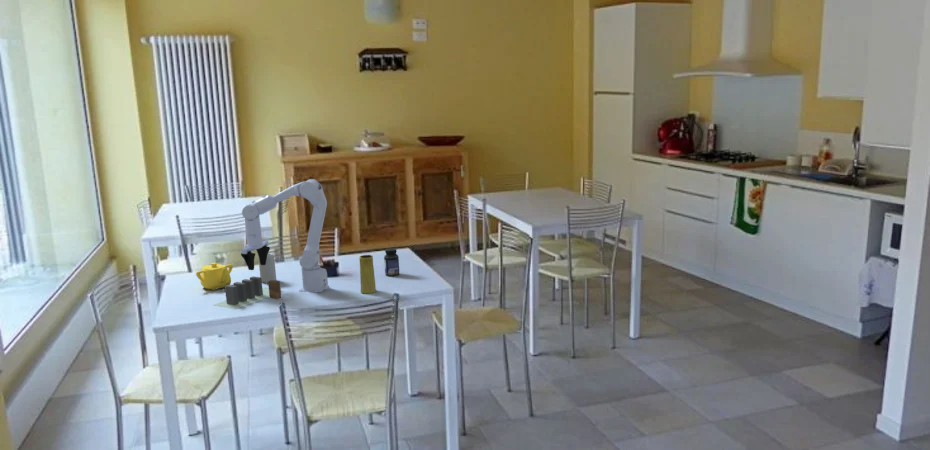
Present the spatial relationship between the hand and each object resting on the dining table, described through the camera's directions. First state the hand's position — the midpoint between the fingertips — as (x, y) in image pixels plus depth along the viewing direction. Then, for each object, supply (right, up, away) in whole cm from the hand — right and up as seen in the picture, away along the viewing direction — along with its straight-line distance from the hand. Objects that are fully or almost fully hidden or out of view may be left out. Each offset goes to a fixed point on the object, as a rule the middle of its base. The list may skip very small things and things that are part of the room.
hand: (257, 267), depth 283 cm
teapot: (-19, -9, +10) cm, 24 cm away
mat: (-1, -12, -7) cm, 14 cm away
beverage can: (0, -7, +15) cm, 17 cm away
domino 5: (+10, -12, -9) cm, 18 cm away
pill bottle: (+52, -5, +19) cm, 56 cm away
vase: (+45, -9, -4) cm, 46 cm away
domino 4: (+1, -11, -4) cm, 11 cm away
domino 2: (-3, -12, -11) cm, 17 cm away
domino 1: (-5, -13, -15) cm, 20 cm away
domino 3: (-1, -11, -8) cm, 14 cm away
